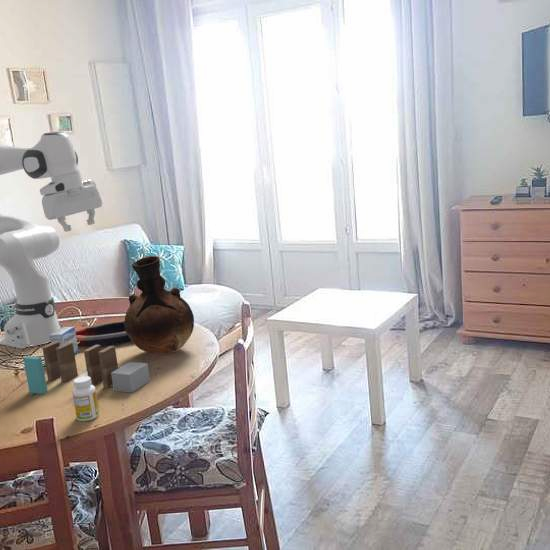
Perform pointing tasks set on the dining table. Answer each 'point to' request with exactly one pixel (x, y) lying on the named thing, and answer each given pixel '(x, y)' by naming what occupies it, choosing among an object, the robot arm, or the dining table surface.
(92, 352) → the domino
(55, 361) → the domino
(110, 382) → the domino
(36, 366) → the domino
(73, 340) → the medicine box
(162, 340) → the ceramic vessel
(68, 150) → the robot arm
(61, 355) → the domino
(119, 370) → the end block
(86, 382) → the supplement bottle
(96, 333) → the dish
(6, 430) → the dining table surface
